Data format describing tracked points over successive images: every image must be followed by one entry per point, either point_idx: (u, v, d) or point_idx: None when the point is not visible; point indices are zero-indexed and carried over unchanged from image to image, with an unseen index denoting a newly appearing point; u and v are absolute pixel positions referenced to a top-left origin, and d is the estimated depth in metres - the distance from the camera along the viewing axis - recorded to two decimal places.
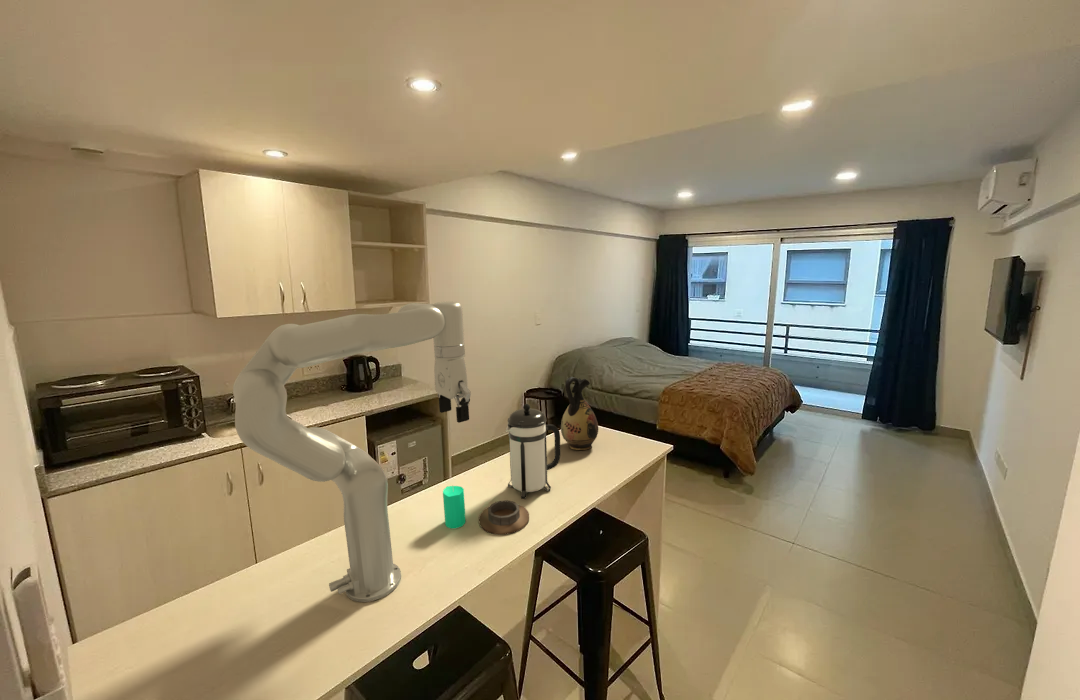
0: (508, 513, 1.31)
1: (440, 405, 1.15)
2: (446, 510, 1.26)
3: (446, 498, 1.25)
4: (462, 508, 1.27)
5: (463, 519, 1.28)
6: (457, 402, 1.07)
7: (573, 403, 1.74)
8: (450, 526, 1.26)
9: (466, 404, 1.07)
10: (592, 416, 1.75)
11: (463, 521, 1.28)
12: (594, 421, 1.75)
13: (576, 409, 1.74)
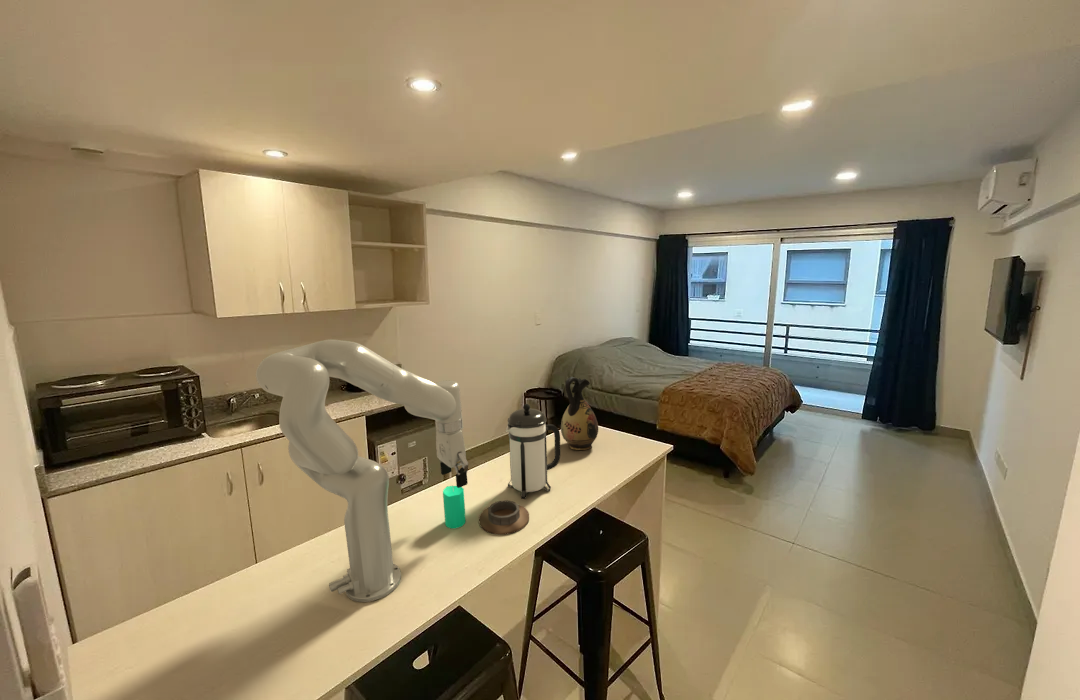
0: (508, 513, 1.31)
1: (441, 468, 1.29)
2: (446, 510, 1.26)
3: (446, 498, 1.25)
4: (462, 508, 1.27)
5: (463, 519, 1.28)
6: (456, 470, 1.21)
7: (573, 403, 1.74)
8: (450, 526, 1.26)
9: (464, 472, 1.21)
10: (592, 416, 1.75)
11: (463, 521, 1.28)
12: (594, 421, 1.75)
13: (576, 409, 1.74)
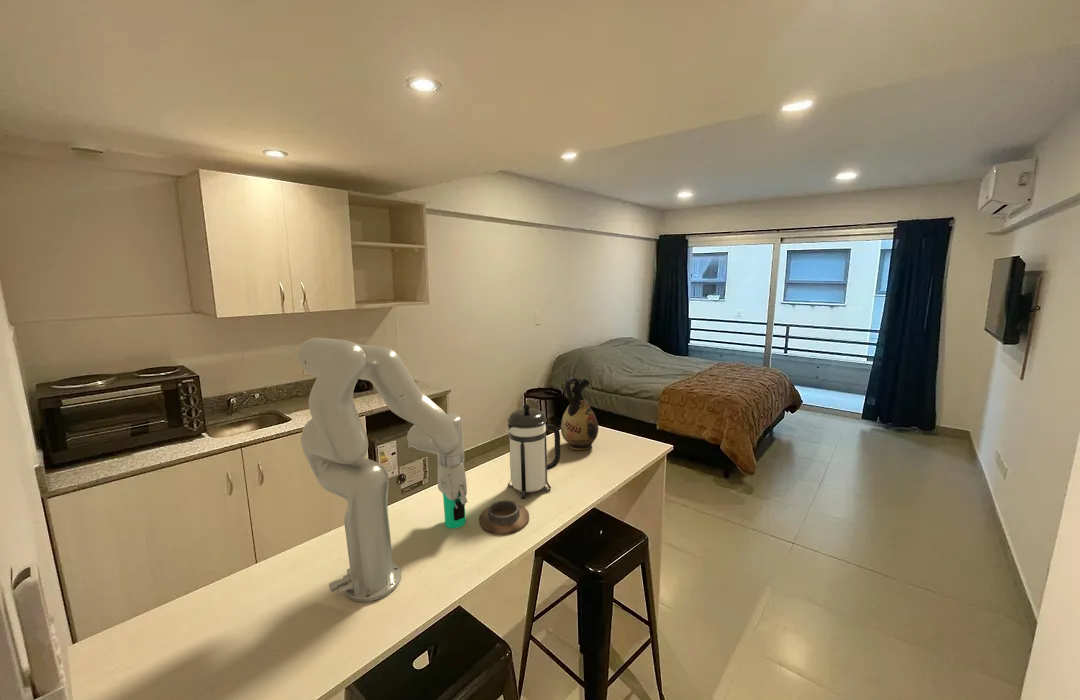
0: (508, 513, 1.31)
1: None
2: (446, 510, 1.26)
3: (446, 498, 1.25)
4: None
5: (463, 519, 1.28)
6: (455, 504, 1.24)
7: (573, 403, 1.74)
8: (450, 526, 1.26)
9: (462, 505, 1.25)
10: (592, 416, 1.75)
11: (463, 521, 1.28)
12: (594, 421, 1.75)
13: (576, 409, 1.74)
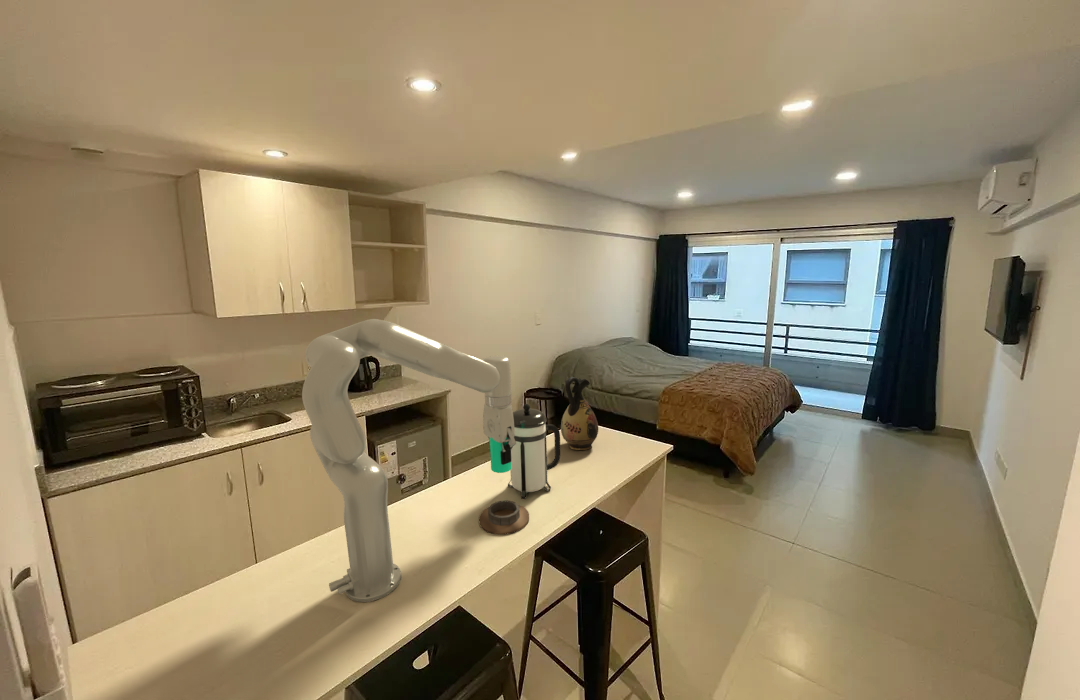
0: (508, 513, 1.31)
1: None
2: (493, 454, 1.24)
3: (493, 441, 1.23)
4: None
5: (510, 463, 1.26)
6: (502, 447, 1.22)
7: (573, 403, 1.74)
8: (497, 470, 1.24)
9: (509, 449, 1.22)
10: (592, 416, 1.75)
11: (510, 466, 1.26)
12: (594, 421, 1.75)
13: (576, 409, 1.74)
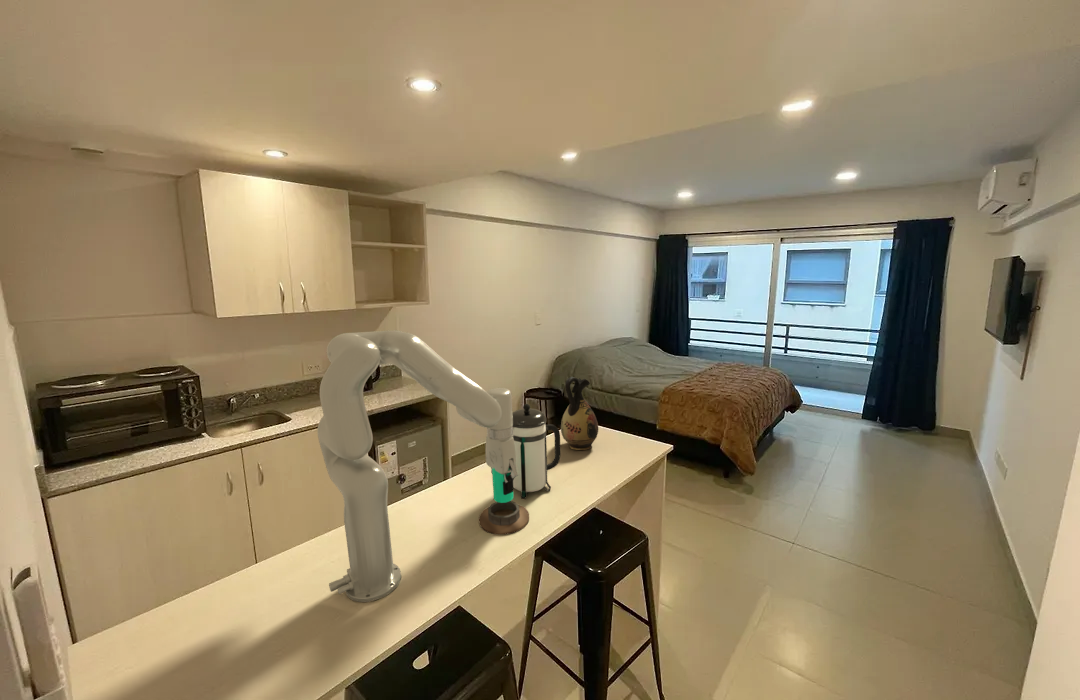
0: (508, 513, 1.31)
1: None
2: (495, 484, 1.26)
3: (496, 472, 1.25)
4: None
5: (512, 493, 1.28)
6: (504, 478, 1.24)
7: (573, 403, 1.74)
8: (499, 500, 1.26)
9: (512, 479, 1.24)
10: (592, 416, 1.75)
11: (512, 495, 1.28)
12: (594, 421, 1.75)
13: (576, 409, 1.74)
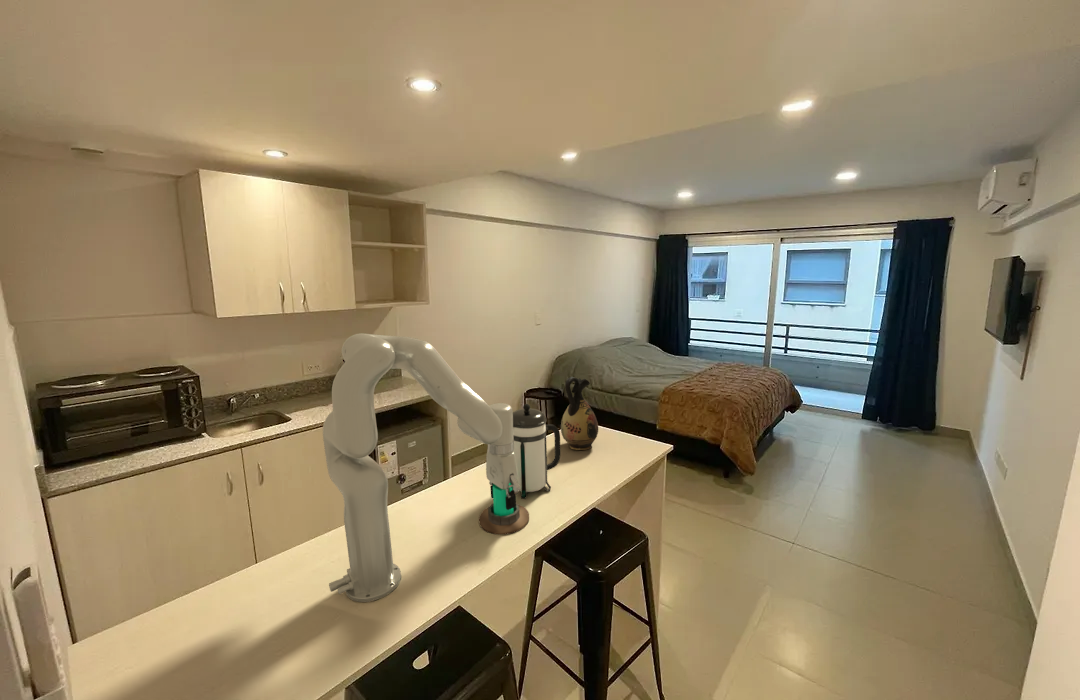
0: None
1: (492, 492, 1.31)
2: (496, 504, 1.26)
3: (497, 492, 1.25)
4: None
5: (512, 513, 1.28)
6: (507, 493, 1.24)
7: (573, 403, 1.74)
8: None
9: (514, 494, 1.24)
10: (592, 416, 1.75)
11: None
12: (594, 421, 1.75)
13: (576, 409, 1.74)
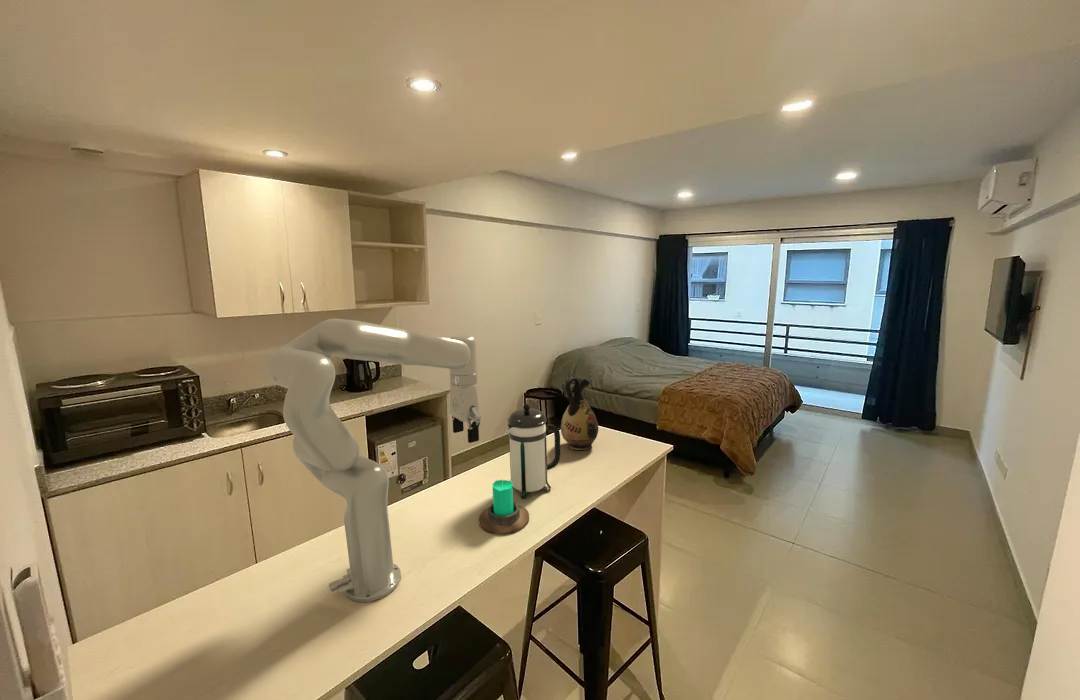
0: None
1: (453, 426, 1.29)
2: (496, 504, 1.26)
3: (496, 492, 1.25)
4: (511, 502, 1.28)
5: (512, 513, 1.28)
6: (469, 425, 1.21)
7: (573, 403, 1.74)
8: None
9: (476, 427, 1.21)
10: (592, 416, 1.75)
11: None
12: (594, 421, 1.75)
13: (576, 409, 1.74)
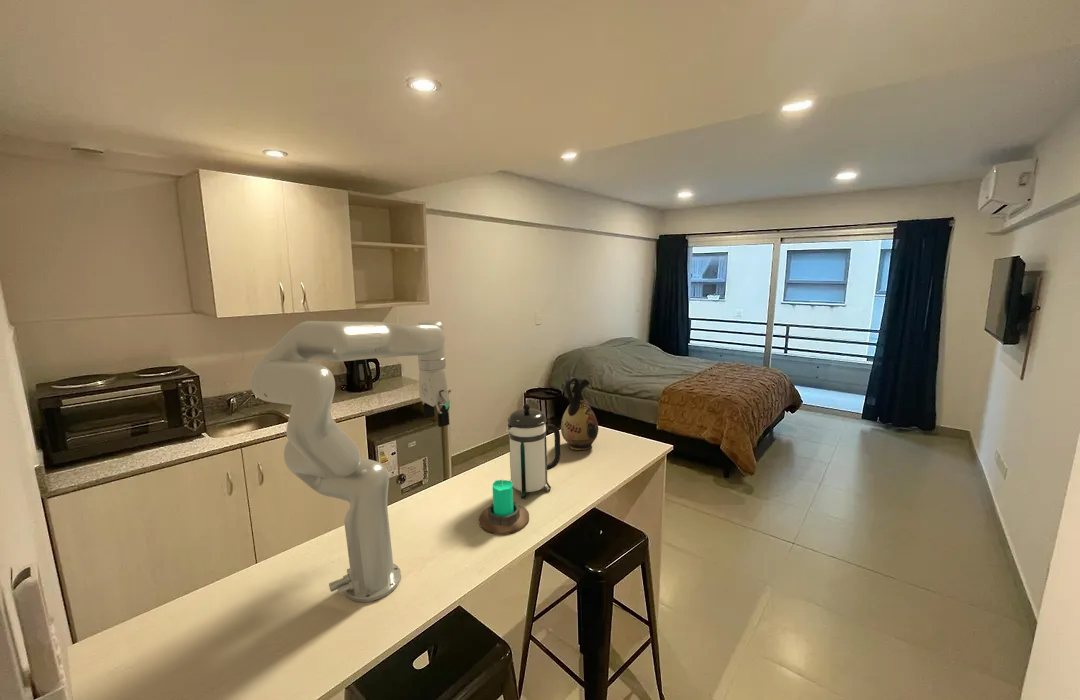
0: None
1: (424, 411, 1.30)
2: (496, 504, 1.26)
3: (496, 492, 1.25)
4: (512, 502, 1.28)
5: (512, 513, 1.28)
6: (438, 409, 1.21)
7: (573, 403, 1.74)
8: None
9: (446, 411, 1.22)
10: (592, 416, 1.75)
11: None
12: (594, 421, 1.75)
13: (576, 409, 1.74)
